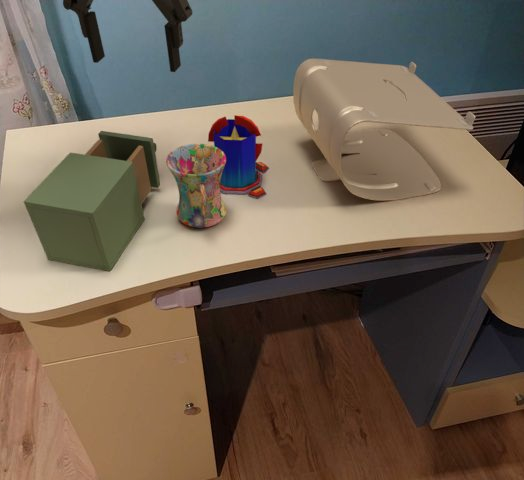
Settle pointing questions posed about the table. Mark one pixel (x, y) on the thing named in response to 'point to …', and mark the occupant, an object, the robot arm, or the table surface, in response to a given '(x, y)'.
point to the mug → (198, 183)
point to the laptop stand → (376, 111)
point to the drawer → (131, 157)
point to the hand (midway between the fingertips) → (137, 64)
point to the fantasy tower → (239, 156)
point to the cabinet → (87, 210)
